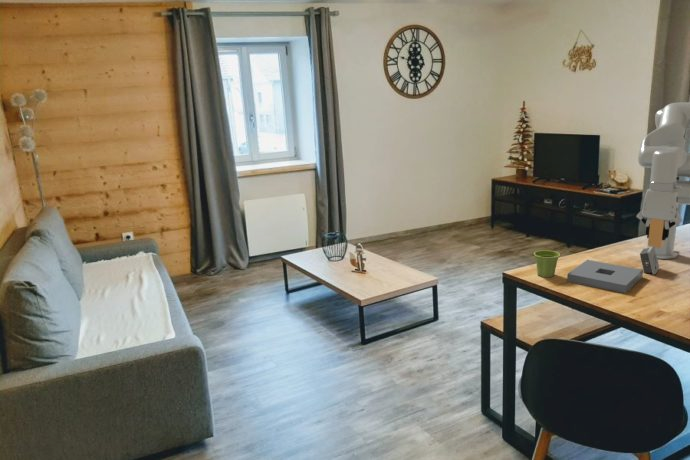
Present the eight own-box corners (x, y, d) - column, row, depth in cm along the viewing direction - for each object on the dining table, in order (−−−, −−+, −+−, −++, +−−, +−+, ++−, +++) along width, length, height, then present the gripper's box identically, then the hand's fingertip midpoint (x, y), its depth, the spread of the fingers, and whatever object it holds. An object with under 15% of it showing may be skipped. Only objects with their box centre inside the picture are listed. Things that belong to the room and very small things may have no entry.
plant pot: (532, 278, 198) (533, 256, 196) (533, 270, 207) (534, 249, 204) (558, 280, 195) (560, 258, 192) (558, 271, 203) (559, 250, 201)
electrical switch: (655, 275, 194) (655, 251, 193) (639, 274, 198) (639, 251, 196) (659, 268, 201) (659, 245, 200) (644, 267, 205) (644, 244, 203)
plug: (651, 243, 183) (653, 215, 181) (663, 244, 181) (667, 217, 178) (647, 245, 181) (650, 218, 178) (660, 247, 178) (663, 219, 175)
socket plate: (586, 266, 207) (587, 259, 206) (642, 277, 193) (643, 269, 193) (567, 281, 193) (567, 273, 192) (625, 293, 180) (626, 285, 179)
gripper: (693, 186, 172) (687, 239, 177) (638, 182, 183) (633, 232, 188) (688, 191, 167) (681, 245, 172) (631, 186, 178) (627, 237, 183)
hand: (656, 237), depth 180 cm, fingers closed on plug, 4 cm apart
